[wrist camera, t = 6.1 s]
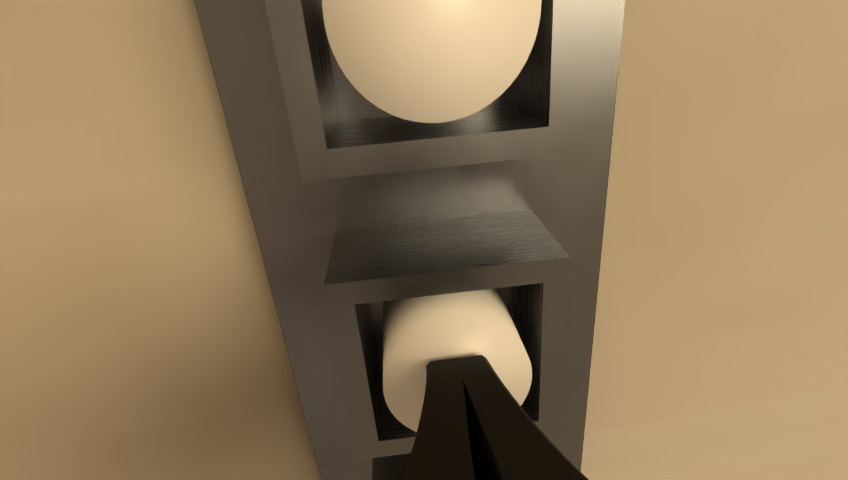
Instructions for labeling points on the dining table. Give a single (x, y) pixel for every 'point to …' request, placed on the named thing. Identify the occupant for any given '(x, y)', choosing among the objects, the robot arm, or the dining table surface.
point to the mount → (419, 212)
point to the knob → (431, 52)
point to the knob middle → (447, 345)
